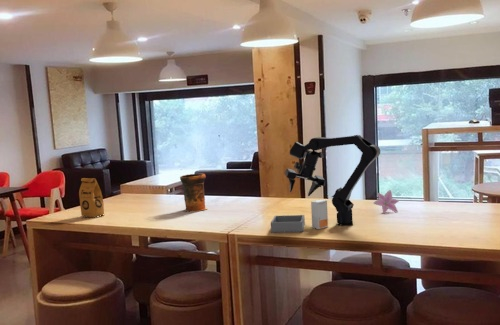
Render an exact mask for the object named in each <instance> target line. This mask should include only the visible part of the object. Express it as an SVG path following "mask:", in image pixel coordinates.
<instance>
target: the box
mask: <svg viewBox="0 0 500 325" xmlns="http://www.w3.org/2000/svg"><path fill="white" fill-rule="evenodd" d="M305 226H306V222H305V214H297V215H295V214H290V215H289V214H287V215H274V217H273V218H272V219H271V222H270V231H271V234H272V233H273V234H274V233H275V234H276V233H279V234H280V233H282V234H283V233H285V234H286V233H303V232H304V230H305Z"/></svg>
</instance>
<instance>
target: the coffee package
mask: <svg viewBox="0 0 500 325" xmlns="http://www.w3.org/2000/svg"><path fill="white" fill-rule="evenodd" d="M80 181H81V184H80V186H79V191H78V196H79V197H78V198H79V204H80V205H79V206H80V207H79V208H80V212H81V213H80V215H81V217H86V216H88V217H87V218H94V217H96V216H100V215H103V214H104V215H105V207H104V198H103V194H102V190H101V188H100V184H99V183H98V181H97V179H96V178H94V177H93V178H90V177H89V178H88V177H87V178H86V177H83V178H82V177H81V179H80ZM100 217H101V216H100Z"/></svg>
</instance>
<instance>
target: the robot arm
mask: <svg viewBox="0 0 500 325" xmlns="http://www.w3.org/2000/svg"><path fill="white" fill-rule="evenodd" d="M348 145H354V146H355V147H356V148H357V149H358V150H359V151H360V153H361V152H362V154H361V156H360V160H359V163H358V164H356V165H357V166H356V167H355V168H354V170H353V172H352V174H351V175H350V176H349V178H348V180H347V181H345V184H344V186H343V187H339V188H337V189H336V190H335V193H334V194H333V195H331V203H332V205H333V207H334V208H335V210H336V223H337V224H338V226H352V225H354V221H353V208H354V203H353V202H352V201H351V200H350V199H351V195H352V191H353V190H354V189H355V187H356V185H357V184H358V183H359V181H360V179H361V178H362V177H363V175H364V173H365V172H366V170H367V169H368V167H369V166H370V165H371V164H372V163H373V162H374V161H375V160H377V158H378V157H379V156H380V154H381V148H380V147H379V145H376V144H373V143H372V142H370V141H369V140H367V139H366V138H364V137H362V136H361V135H360V134H355V135H348V136H340V137H339V136H338V137H321V136H317V137H313V138H310V140H309V142H308V143H307V144H301V143H300V142H298V141H295V142H294V144H293V145H292V146H291V148H290V150H289V156H292V157H293V158H297V159H299V160H302V159H304V161H302V163H301V162H298V161H295V163H294V165H293V168H294V169H291V168H286V169H285V170H284V175H285V177H286V178H287V180H288V182H289V193H292V192H293V188H294V185H295V182H296V178H298V179H304V180H306V181H307V180H308V181H311V185H310V188H309V190H308V192H307V196H308V197H310V196H312V194H313V193H314V192H315V191H316V190H317V189H319V188H322V187H325V186H326V179H325V178H324V177H323V176H321V175H316V174H315V175H314V176H313V174H314V171H316V170H317V169H316V166H317V163H318V160H319V158H320V159H321V158H322V159H323V158H324V154H323V151H319V150H323V149H325V148H330V147H339V146H348ZM318 151H319V152H318ZM295 170H296V171H295Z"/></svg>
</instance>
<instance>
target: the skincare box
mask: <svg viewBox="0 0 500 325" xmlns="http://www.w3.org/2000/svg"><path fill="white" fill-rule="evenodd" d="M310 203H311V204H310V206H311V207H310V208H311V212H310V213H311V228H312V229H315V228H316V229H317V230H321V229H324V228H328V227H329V223H328V222H329V219H328V200H327V199H326V200H325V199H315V200H313V201H311V202H310Z"/></svg>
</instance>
